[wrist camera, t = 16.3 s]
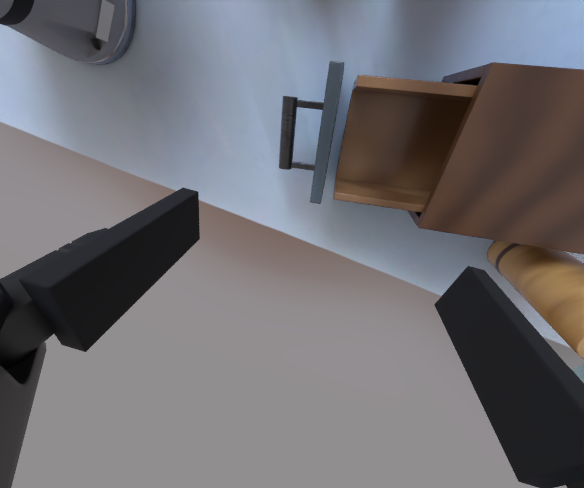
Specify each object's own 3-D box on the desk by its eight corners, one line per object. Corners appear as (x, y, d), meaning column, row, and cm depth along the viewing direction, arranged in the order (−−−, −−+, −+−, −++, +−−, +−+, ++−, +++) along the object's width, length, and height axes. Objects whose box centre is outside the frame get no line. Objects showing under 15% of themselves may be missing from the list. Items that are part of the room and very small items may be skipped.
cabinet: (399, 198, 31) (418, 228, 23) (443, 76, 24) (493, 62, 16) (529, 217, 29) (596, 256, 22) (621, 92, 22) (772, 84, 14)
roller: (477, 264, 34) (558, 356, 21) (503, 226, 30) (617, 310, 18) (524, 272, 33) (635, 372, 21) (555, 234, 30) (713, 328, 17)
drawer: (285, 179, 32) (272, 196, 25) (293, 68, 25) (278, 56, 19) (431, 200, 29) (455, 225, 23) (483, 86, 23) (536, 78, 17)
